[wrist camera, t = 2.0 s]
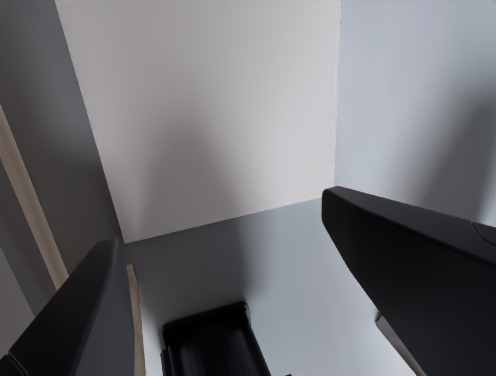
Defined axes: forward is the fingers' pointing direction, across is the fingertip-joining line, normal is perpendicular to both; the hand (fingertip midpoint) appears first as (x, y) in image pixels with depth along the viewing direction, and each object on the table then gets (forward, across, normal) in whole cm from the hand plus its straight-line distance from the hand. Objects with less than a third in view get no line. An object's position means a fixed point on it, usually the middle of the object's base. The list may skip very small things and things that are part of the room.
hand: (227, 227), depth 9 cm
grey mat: (+13, -3, -2) cm, 13 cm away
